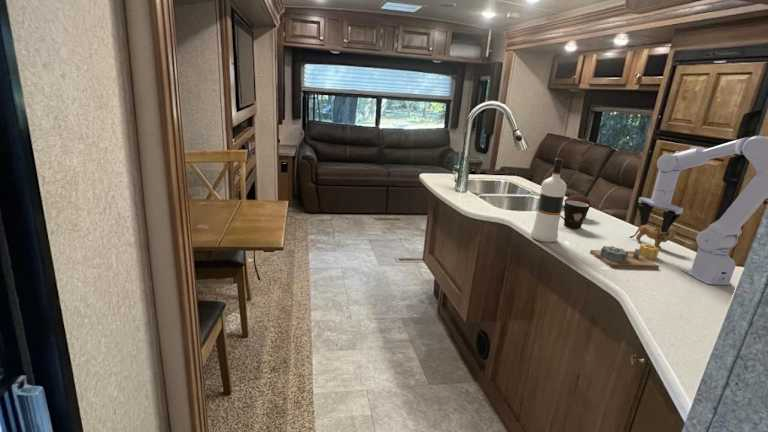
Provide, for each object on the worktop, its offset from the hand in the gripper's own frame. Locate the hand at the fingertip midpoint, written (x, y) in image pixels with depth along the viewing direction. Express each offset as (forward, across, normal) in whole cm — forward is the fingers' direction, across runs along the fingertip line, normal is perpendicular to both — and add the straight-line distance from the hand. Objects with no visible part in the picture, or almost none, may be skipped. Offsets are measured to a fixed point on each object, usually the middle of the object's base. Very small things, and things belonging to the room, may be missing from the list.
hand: (653, 228), depth 140 cm
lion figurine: (+10, +6, -10) cm, 15 cm away
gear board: (+10, -4, +16) cm, 19 cm away
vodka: (+10, +19, +29) cm, 36 cm away
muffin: (+9, +42, -8) cm, 44 cm away
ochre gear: (+9, -2, +2) cm, 10 cm away
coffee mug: (+9, +31, +6) cm, 33 cm away
